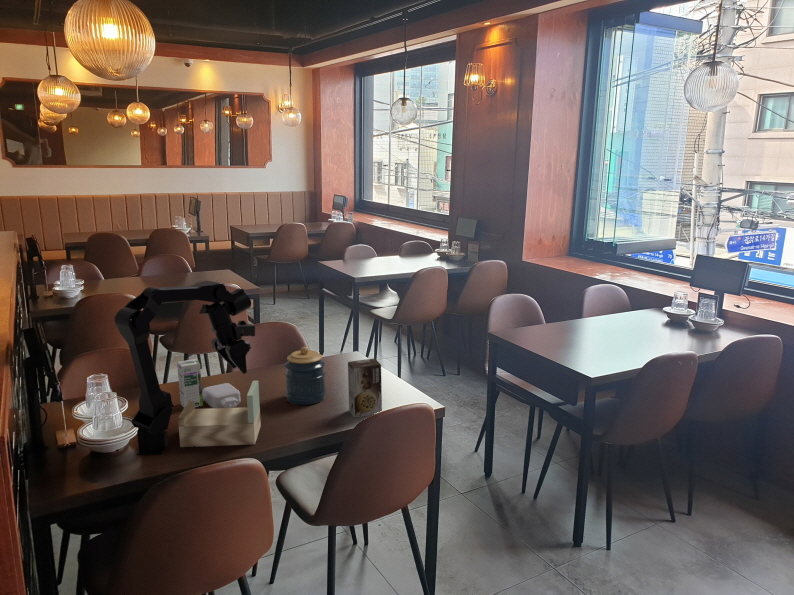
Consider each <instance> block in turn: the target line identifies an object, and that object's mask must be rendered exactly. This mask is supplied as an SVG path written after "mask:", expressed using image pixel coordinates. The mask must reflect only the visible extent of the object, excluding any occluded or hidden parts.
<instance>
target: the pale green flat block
mask: <svg viewBox="0 0 794 595" xmlns="http://www.w3.org/2000/svg"><path fill="white" fill-rule="evenodd" d="M259 386H260V385H259V380H252V382H251V385H250V387H249V390H248V392H247V394H246V403H247V406H246V407H248V423H254V421H255V419H256V416H257V413H258V410H259V407H260V408H261V406H260V387H259Z"/></svg>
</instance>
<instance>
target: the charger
mask: <svg viewBox="0 0 794 595" xmlns="http://www.w3.org/2000/svg"><path fill="white" fill-rule="evenodd" d="M202 397H203V402H205V403H206V404H207V405H208V406H210V408H236V407H238V405H240V404H241V392H240V391H239V389H237V388H236V387H234V386H233V385H232V384H231V383H229V382H224V383H220V384H216V385H211V386H206V387H204V388H202Z"/></svg>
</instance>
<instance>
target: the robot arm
mask: <svg viewBox="0 0 794 595" xmlns="http://www.w3.org/2000/svg"><path fill="white" fill-rule="evenodd" d="M244 289H245V288H237V289H234V290H233V291H232V292H230V291H229V290H228V289H227V287H226V286H225V283H223V282H217V281H211V280H203V281H199V282H195V283H194V284H192V285H181V286H178V285H177V286H164V287H163V286H162V287H161V286H160V287H155V286H154V287H152V286H149V287H146V288H144V290H143V291H141V293H140V294H139V295H137V296H136V297H134V298H133V299H132V300H130V301H128V302H127V303H126V305H125V306H124V307H122V308H120V309H119V310H118V311H117V312H116V314H115V316H114V323H115V326H116V328H117V330H118V332H119V335H121V337H122V338H123V340H125V341H126V343H127V345H128V349H129V351H130V353H129V354H130V355H131V356H130V357H131V359H132V363H133V367H134V370H135V374H136V378H137V382H138V386H139V388H140V396H139V399H138V408H139V409H138V411H137V412H136V413H135V415H134V417H133V418H132V419H131V424H132V426H133V428H136V429H137V430H136V433H137V434H136V435H137V445H138V450H137V452H136V455H137V456H142V455H143V456H144V455H145V456H146V455H162V454H163V452H164V451H165V450H166V448H167V446H168V445H169V442H168V431H167V430H168V428H169V424H170V420H171V418H172V417H171V416H172V415H173V413H174V412H173V411H174V410H173V408H174V407H175V405H174V403H173V400H172V394H171V393H170V392H167V391H165V390H163V389H162V388H161V386H160V382H159V379H158V374H157V371H156V367H155V363H154V359H153V355H152V351H151V347H150V344H149V337H150V334H151V321H153V319H154V318H155V317H156V315H157V314H158V311H159V307H160V306H161V305H162V303H172V302H173V303H174V302H175V303H176V302H186V301H187V302H188V301H189V302H190V301H202V302H208V303H209V302H210V304H207V303H206V304H203V303H202V306H201V308H200V310H199V312H198V314H199V315H205V314H207V316H208V319H209V322H210V325H211V327H212V328H211V331H212V332H213V333H214V334H215V337H214V338H212V339H211V341H210V342H211V343H210V344H211V346H212V349H214V351H215V352H217V353H218V355H219V356H221V358H222V359H223V360H224V361H226V363H228V365H229V366H230V367H231V368H232V369H236V368H237V369H238V370H239V371H240V372H241V373H242V374H244V375H245V374H247V373H248V371H247V370H248V369H247V368H248V367H247V355H248V353H249V352H250V350H251V349H252V347H251V345H250V342H249V341H247V340H244V339H243V337H256V325H255V324H251V323H247V321H245V320H238V322H237V324H236V322H234V321H233V320H232V317H234V316H237V315H239V314H241V313H244V312H245V311H247V310H248V309H251V307H252V300H251V298H250V297H249V295H248V294H247V293H246V292H245V290H244ZM231 316H232V317H231Z"/></svg>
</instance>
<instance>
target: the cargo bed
mask: <svg viewBox="0 0 794 595" xmlns="http://www.w3.org/2000/svg"><path fill="white" fill-rule="evenodd" d="M260 408H261V406H260V407H259V410H258V413H257V416H256V419H255V421H254V423H248V407H247V406H246V407H245V406H244V407H232V408H212V407H209V408H196V407H195V404H194V401H189V402H188V403H187V405H186V406H185V408H184V407H183V409H182V411H181V412H180V414H179V416H178V417H177V420H178V421H177V422H178V436H179V446H180V448H187V447H191V448H193V447H194V446H195V447H215V446H216V447H217V446H219V447H220V446H242V445H249V446H250V445H256V441H257V439H258V436H259V433H260V429H261V427H262V426H261V425H262V424H261V413H260V412H261V409H260Z"/></svg>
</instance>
